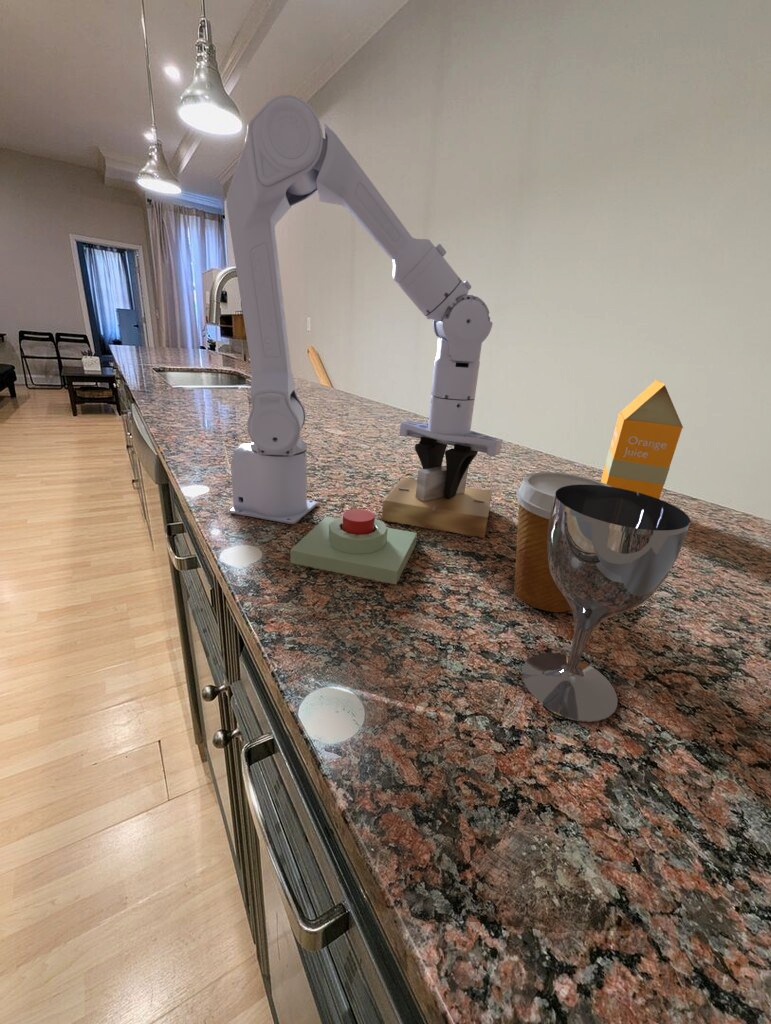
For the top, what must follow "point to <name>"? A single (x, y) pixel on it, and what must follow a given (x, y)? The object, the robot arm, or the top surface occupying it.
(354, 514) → the button
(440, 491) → the grey rectangular block
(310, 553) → the button block
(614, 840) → the top surface
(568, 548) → the wine glass
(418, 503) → the wooden base
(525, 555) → the disposable coffee cup
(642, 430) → the orange juice
